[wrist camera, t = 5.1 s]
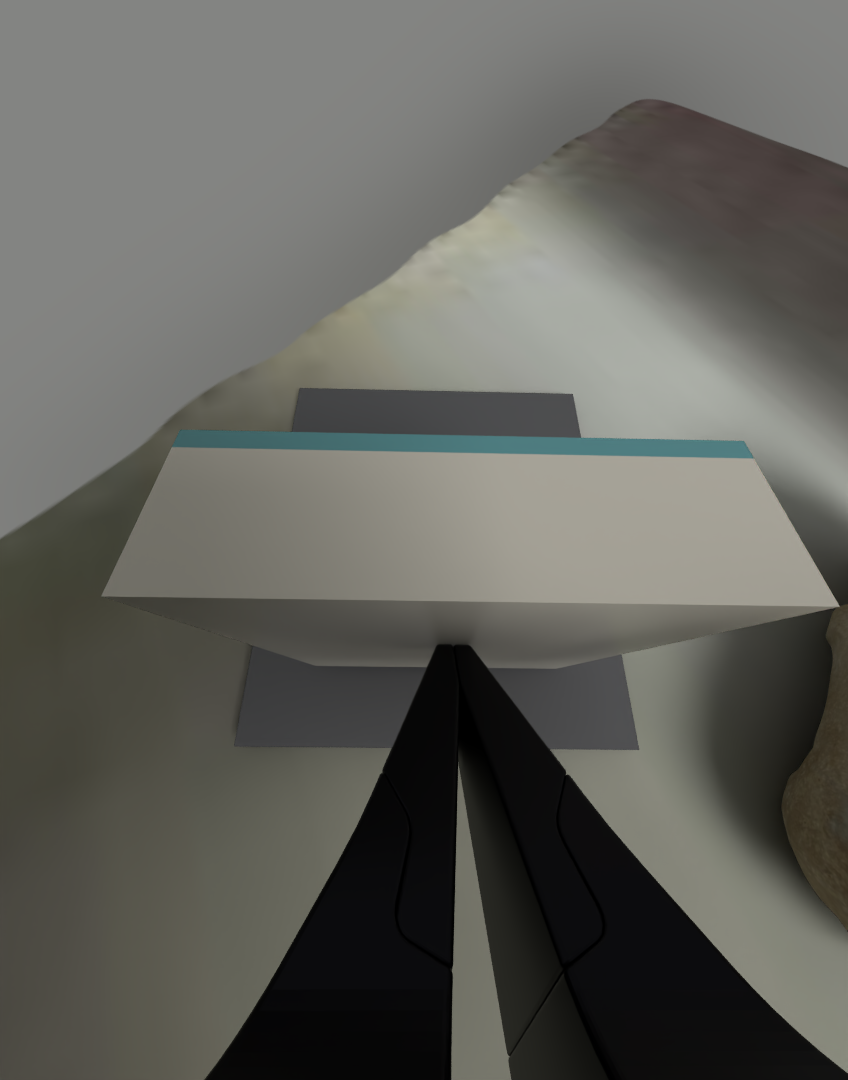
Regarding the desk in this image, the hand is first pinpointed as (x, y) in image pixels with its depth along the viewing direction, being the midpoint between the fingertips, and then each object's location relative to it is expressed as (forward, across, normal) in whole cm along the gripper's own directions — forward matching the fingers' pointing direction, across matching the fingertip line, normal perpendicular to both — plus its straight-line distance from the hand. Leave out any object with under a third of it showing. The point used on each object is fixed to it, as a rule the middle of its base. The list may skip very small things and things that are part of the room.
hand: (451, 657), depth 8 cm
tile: (+5, 0, +4) cm, 6 cm away
